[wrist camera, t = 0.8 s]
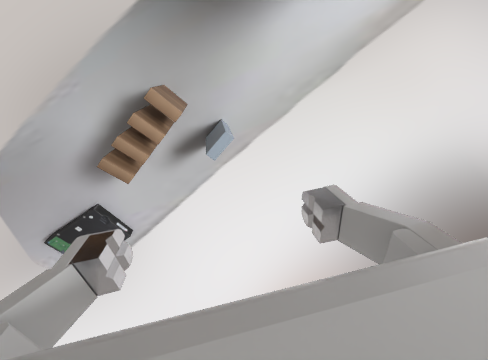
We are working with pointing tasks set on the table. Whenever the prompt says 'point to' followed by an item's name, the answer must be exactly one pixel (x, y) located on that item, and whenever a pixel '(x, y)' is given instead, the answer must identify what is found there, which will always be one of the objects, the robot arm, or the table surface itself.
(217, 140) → the end domino
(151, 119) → the domino
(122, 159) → the domino
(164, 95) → the domino
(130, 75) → the table surface
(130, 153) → the domino
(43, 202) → the table surface
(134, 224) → the table surface
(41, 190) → the table surface
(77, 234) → the disk drive
